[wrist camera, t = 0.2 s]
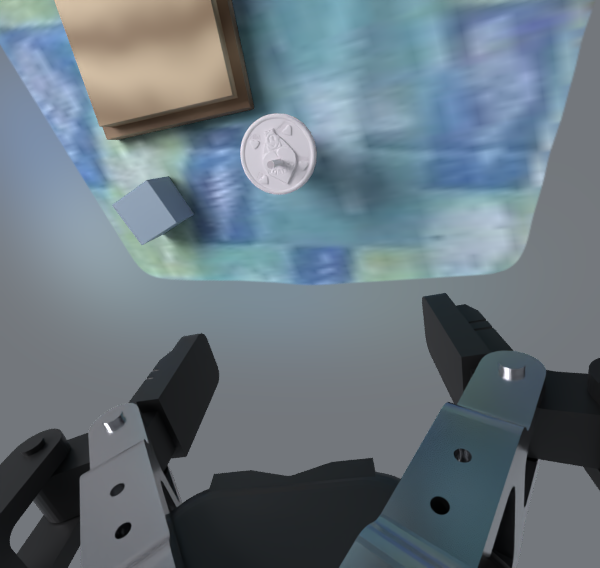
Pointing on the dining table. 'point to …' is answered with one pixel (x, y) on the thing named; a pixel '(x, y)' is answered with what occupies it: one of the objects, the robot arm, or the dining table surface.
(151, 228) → the slate cube
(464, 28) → the dining table surface
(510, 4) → the dining table surface
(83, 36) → the plinth
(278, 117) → the smoothie
